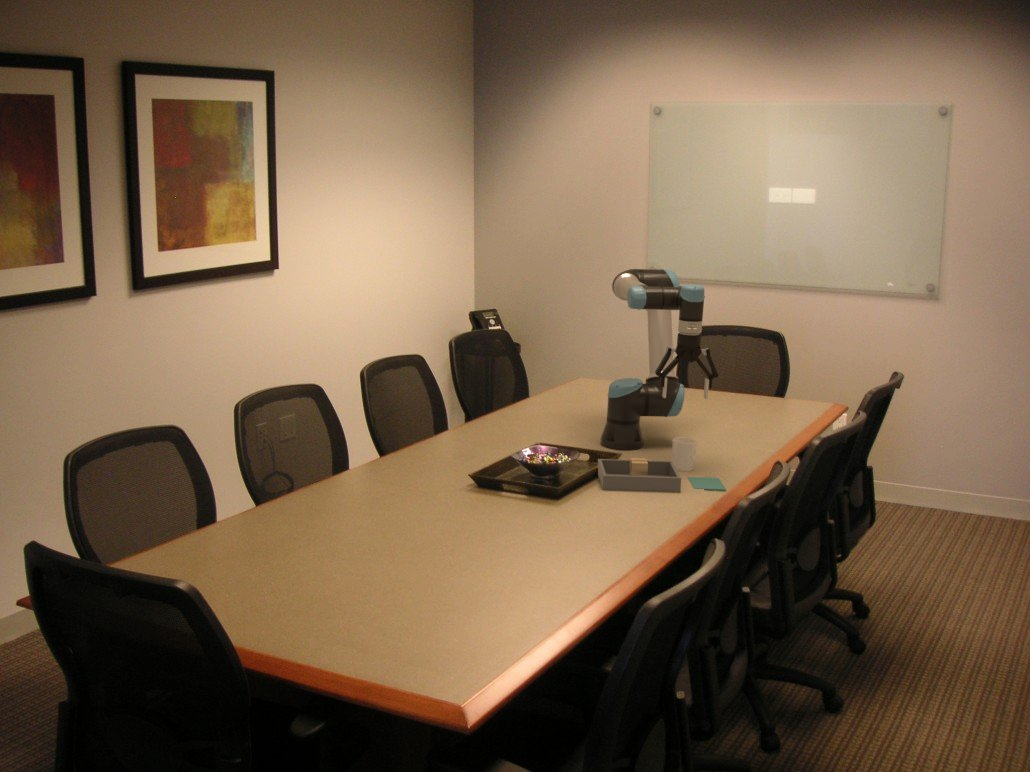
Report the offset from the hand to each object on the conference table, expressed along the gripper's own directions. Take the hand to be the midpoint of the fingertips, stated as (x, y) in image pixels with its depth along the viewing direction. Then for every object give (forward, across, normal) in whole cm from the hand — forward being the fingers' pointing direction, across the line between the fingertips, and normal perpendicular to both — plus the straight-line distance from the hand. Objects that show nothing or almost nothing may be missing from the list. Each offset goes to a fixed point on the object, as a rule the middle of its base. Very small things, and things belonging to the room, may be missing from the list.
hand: (684, 397), depth 357 cm
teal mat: (+25, +6, -15) cm, 29 cm away
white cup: (+25, +1, +2) cm, 25 cm away
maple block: (+24, -16, -15) cm, 33 cm away
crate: (+25, -16, -15) cm, 33 cm away
